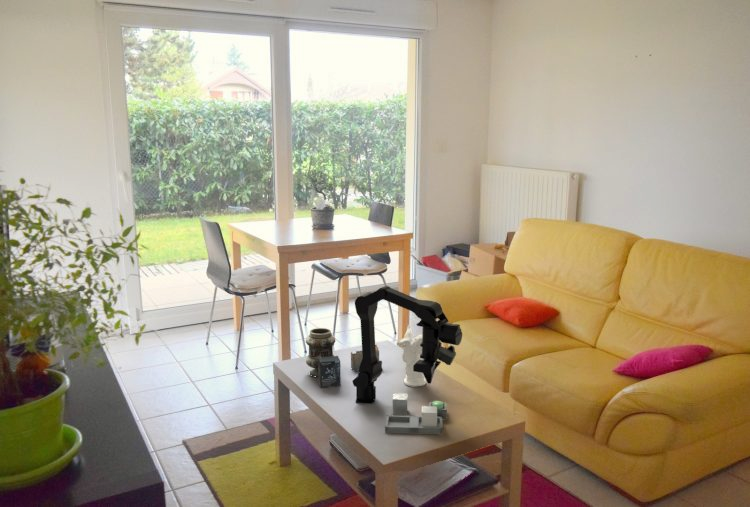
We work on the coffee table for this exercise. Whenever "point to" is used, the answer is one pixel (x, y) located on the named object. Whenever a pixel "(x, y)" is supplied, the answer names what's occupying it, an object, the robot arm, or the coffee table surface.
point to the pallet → (416, 422)
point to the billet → (400, 404)
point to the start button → (438, 404)
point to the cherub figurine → (412, 358)
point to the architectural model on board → (360, 358)
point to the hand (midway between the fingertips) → (429, 383)
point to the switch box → (441, 411)
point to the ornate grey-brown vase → (319, 347)
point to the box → (329, 371)
